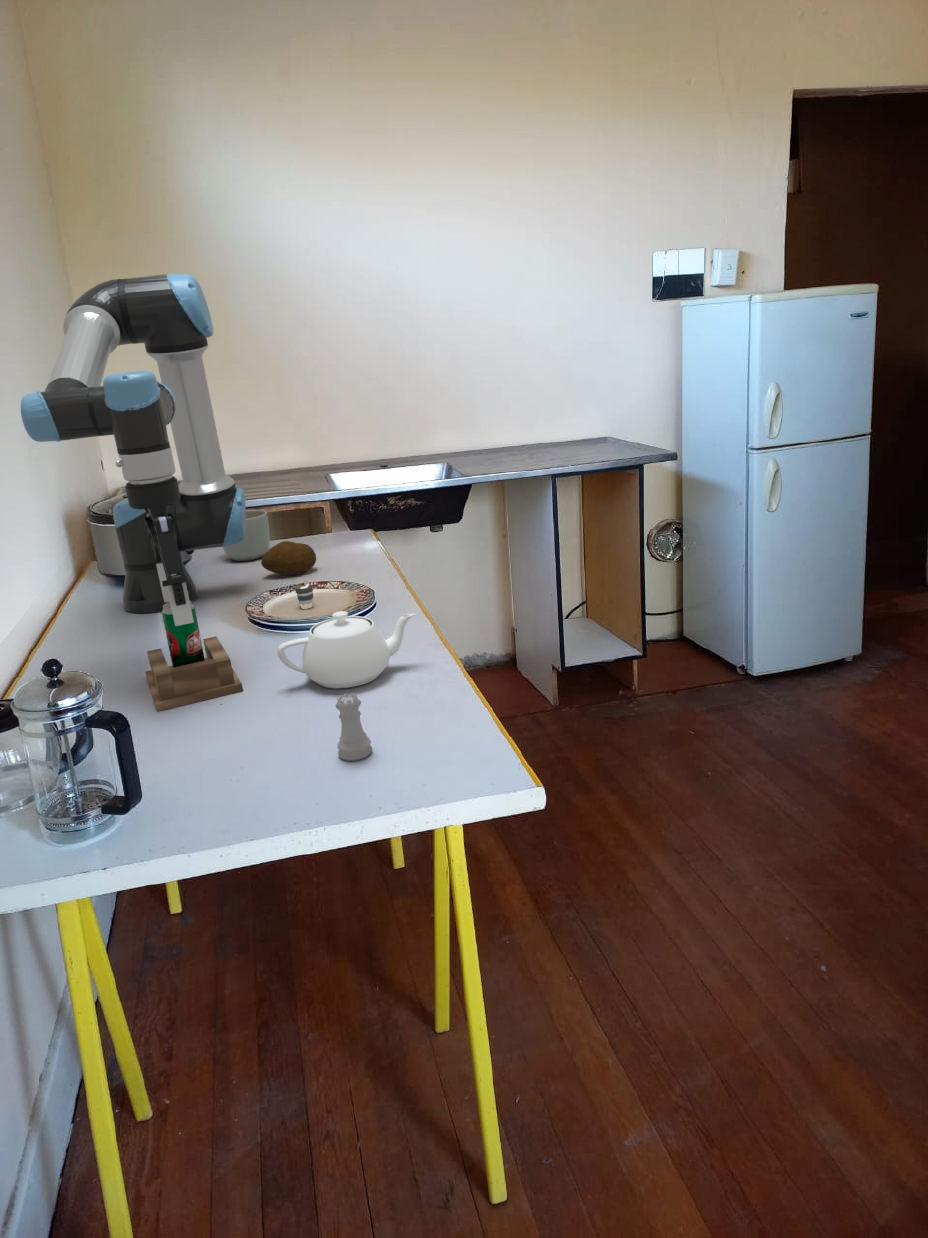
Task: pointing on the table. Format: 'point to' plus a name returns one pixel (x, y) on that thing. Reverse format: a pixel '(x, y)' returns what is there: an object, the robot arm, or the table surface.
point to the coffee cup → (304, 594)
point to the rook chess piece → (352, 730)
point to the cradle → (191, 678)
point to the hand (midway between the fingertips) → (178, 611)
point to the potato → (289, 558)
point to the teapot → (345, 650)
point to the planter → (252, 538)
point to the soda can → (182, 639)
